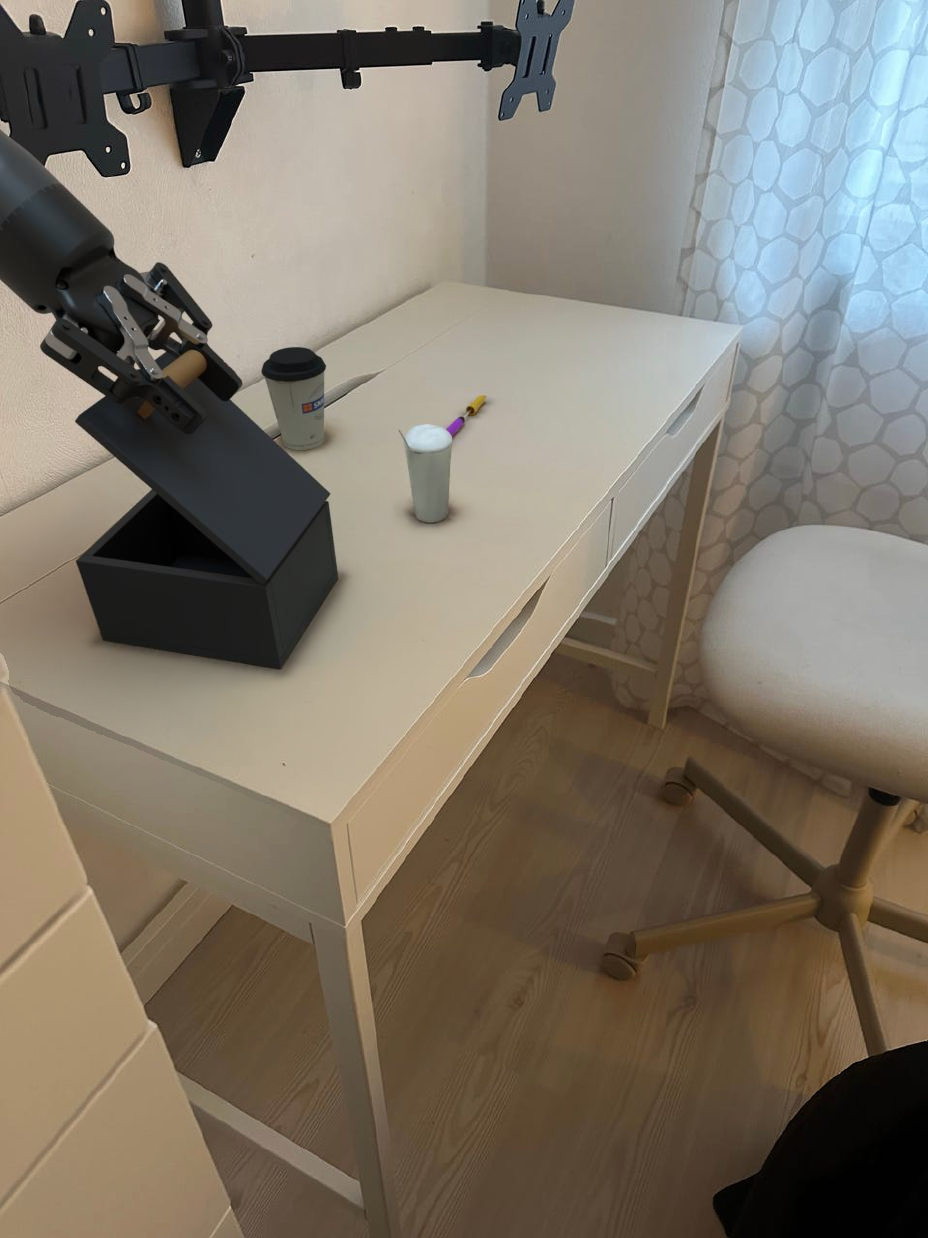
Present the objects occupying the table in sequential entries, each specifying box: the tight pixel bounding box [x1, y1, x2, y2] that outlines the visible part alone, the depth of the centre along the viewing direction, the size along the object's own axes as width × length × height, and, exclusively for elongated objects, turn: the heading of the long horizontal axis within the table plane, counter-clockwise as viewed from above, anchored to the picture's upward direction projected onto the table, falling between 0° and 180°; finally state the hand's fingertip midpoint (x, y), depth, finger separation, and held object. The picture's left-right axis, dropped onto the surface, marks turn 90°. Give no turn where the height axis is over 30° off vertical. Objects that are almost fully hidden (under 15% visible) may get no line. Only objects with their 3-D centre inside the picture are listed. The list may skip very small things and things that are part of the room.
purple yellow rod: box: [445, 395, 488, 437], centre depth 103 cm, size 3×1×16 cm
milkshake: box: [397, 423, 453, 524], centre depth 85 cm, size 5×5×10 cm
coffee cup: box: [260, 346, 327, 451], centre depth 98 cm, size 7×7×10 cm
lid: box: [74, 350, 331, 584], centre depth 66 cm, size 17×13×5 cm
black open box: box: [75, 488, 339, 670], centre depth 74 cm, size 16×13×8 cm
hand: (217, 408), depth 65 cm, fingers closed on lid, 5 cm apart
